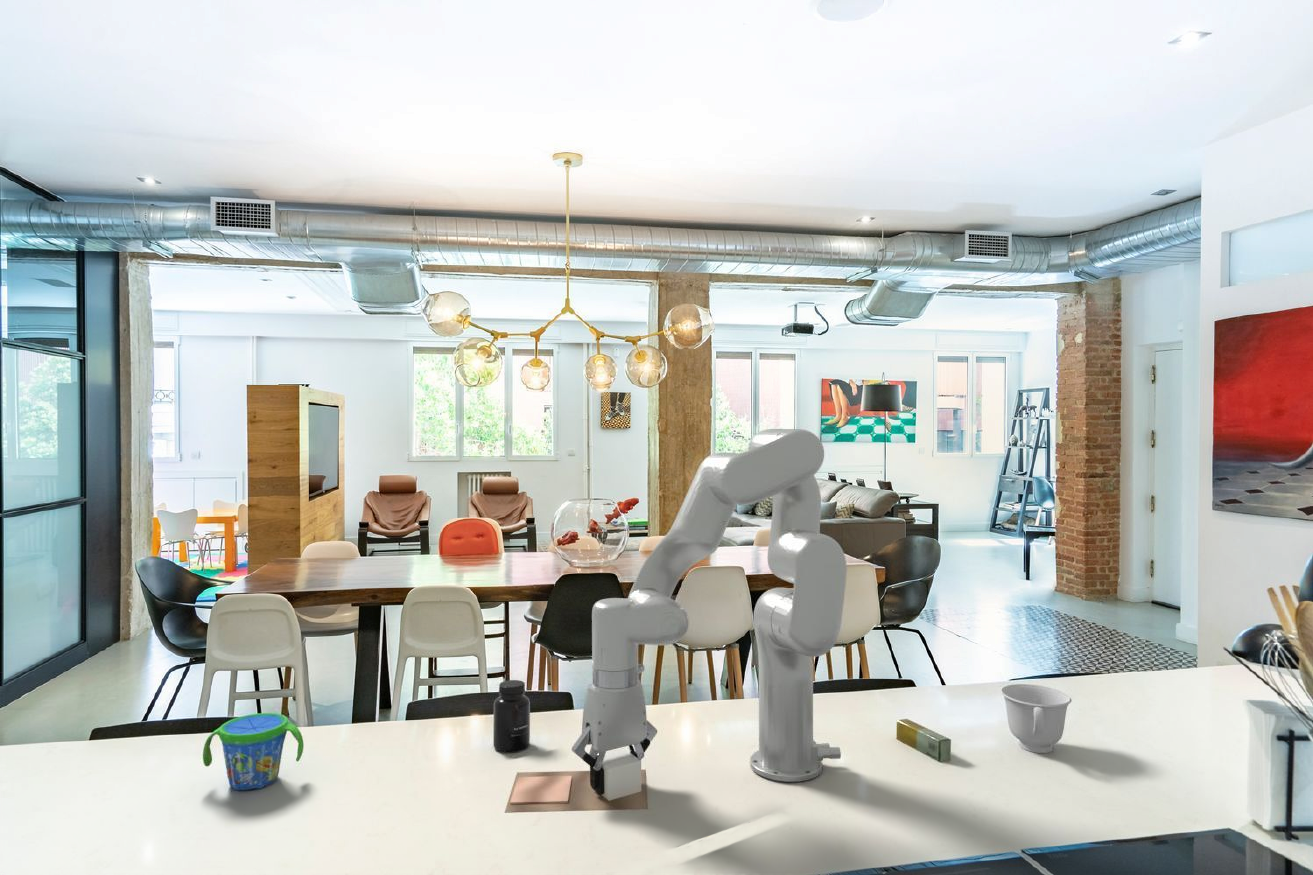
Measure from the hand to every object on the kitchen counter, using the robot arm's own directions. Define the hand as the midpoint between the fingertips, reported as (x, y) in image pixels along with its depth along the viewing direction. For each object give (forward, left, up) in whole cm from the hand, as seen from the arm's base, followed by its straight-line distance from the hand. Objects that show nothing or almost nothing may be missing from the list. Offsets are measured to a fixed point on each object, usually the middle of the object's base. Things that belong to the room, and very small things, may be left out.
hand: (616, 784), depth 128 cm
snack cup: (+62, -9, -2) cm, 63 cm away
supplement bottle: (+20, -22, -2) cm, 30 cm away
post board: (+6, 0, -2) cm, 6 cm away
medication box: (-57, -17, -3) cm, 60 cm away
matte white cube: (0, 0, -1) cm, 1 cm away
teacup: (-78, -15, -2) cm, 80 cm away
